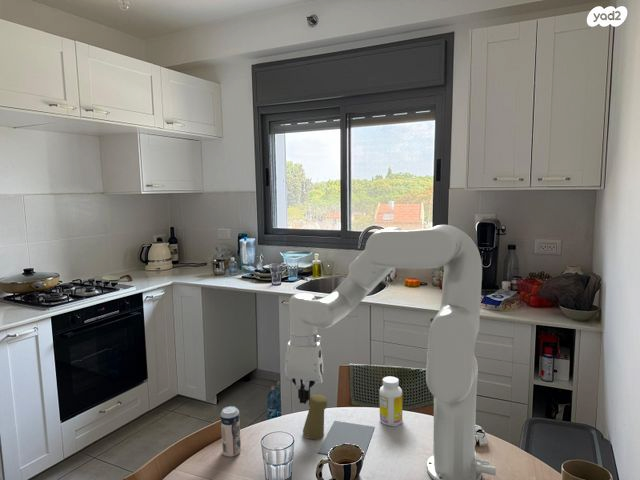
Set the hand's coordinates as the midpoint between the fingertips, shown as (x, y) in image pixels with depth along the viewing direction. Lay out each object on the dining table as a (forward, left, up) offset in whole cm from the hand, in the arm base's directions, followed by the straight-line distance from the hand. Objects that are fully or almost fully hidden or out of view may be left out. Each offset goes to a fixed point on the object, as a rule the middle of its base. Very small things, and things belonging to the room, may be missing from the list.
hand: (304, 401), depth 121 cm
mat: (-12, 0, -10) cm, 16 cm away
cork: (-2, 0, -9) cm, 10 cm away
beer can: (+16, +14, -10) cm, 23 cm away
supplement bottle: (-22, -13, -10) cm, 28 cm away
